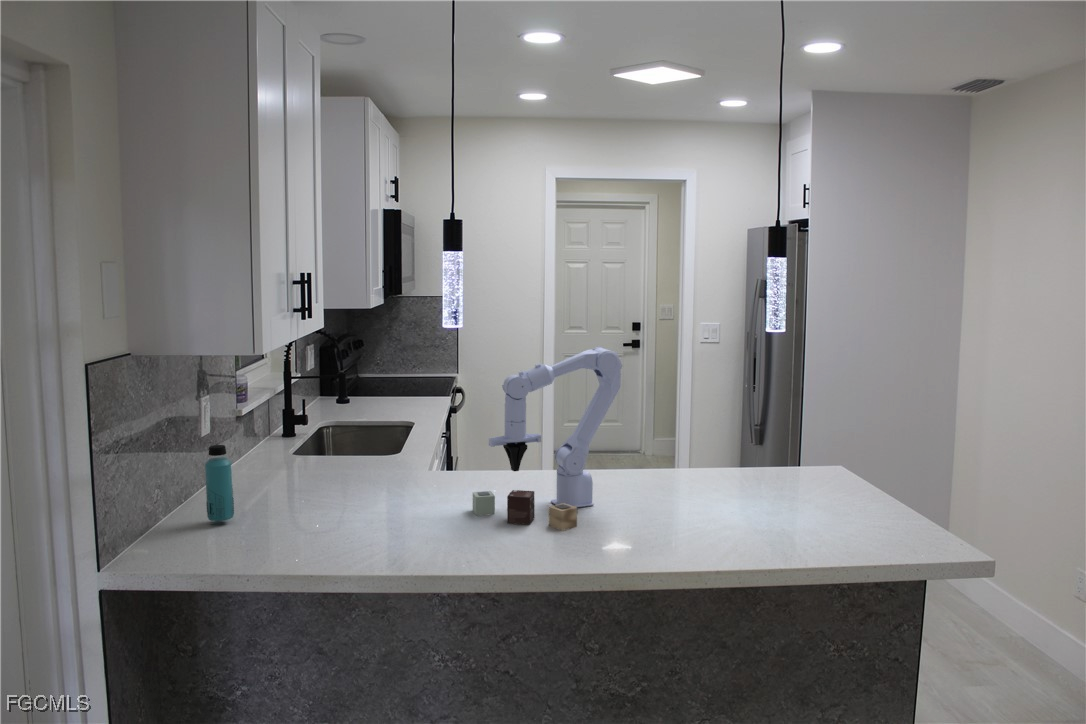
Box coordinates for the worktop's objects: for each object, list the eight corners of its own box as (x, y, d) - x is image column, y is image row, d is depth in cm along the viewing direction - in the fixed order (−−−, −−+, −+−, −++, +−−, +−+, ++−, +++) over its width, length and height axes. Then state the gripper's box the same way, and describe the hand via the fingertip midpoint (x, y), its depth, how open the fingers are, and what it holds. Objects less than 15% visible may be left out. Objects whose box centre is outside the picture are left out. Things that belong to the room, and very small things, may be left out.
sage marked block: (491, 509, 230) (491, 490, 229) (494, 514, 225) (494, 495, 224) (472, 510, 228) (472, 491, 228) (476, 515, 223) (475, 496, 223)
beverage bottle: (240, 520, 218) (237, 443, 215) (222, 528, 212) (219, 449, 209) (219, 518, 220) (215, 441, 217) (201, 525, 214) (197, 447, 211)
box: (529, 525, 216) (530, 497, 215) (506, 524, 217) (506, 495, 216) (534, 518, 222) (535, 490, 221) (512, 516, 223) (512, 489, 222)
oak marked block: (563, 521, 219) (563, 502, 218) (576, 526, 215) (577, 506, 214) (548, 525, 216) (548, 505, 215) (561, 530, 212) (562, 510, 211)
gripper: (533, 415, 234) (532, 464, 236) (484, 419, 228) (484, 469, 229) (544, 420, 228) (544, 470, 229) (494, 424, 221) (494, 475, 223)
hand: (514, 470), depth 229 cm, fingers closed
